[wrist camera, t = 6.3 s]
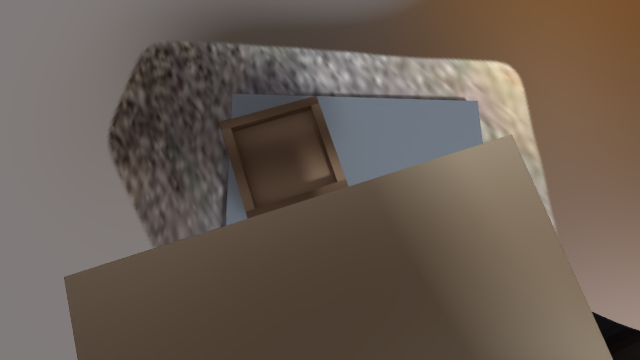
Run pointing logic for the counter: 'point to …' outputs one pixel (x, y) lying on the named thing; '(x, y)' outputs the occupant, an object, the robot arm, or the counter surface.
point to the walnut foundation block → (282, 156)
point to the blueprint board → (375, 134)
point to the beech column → (356, 278)
